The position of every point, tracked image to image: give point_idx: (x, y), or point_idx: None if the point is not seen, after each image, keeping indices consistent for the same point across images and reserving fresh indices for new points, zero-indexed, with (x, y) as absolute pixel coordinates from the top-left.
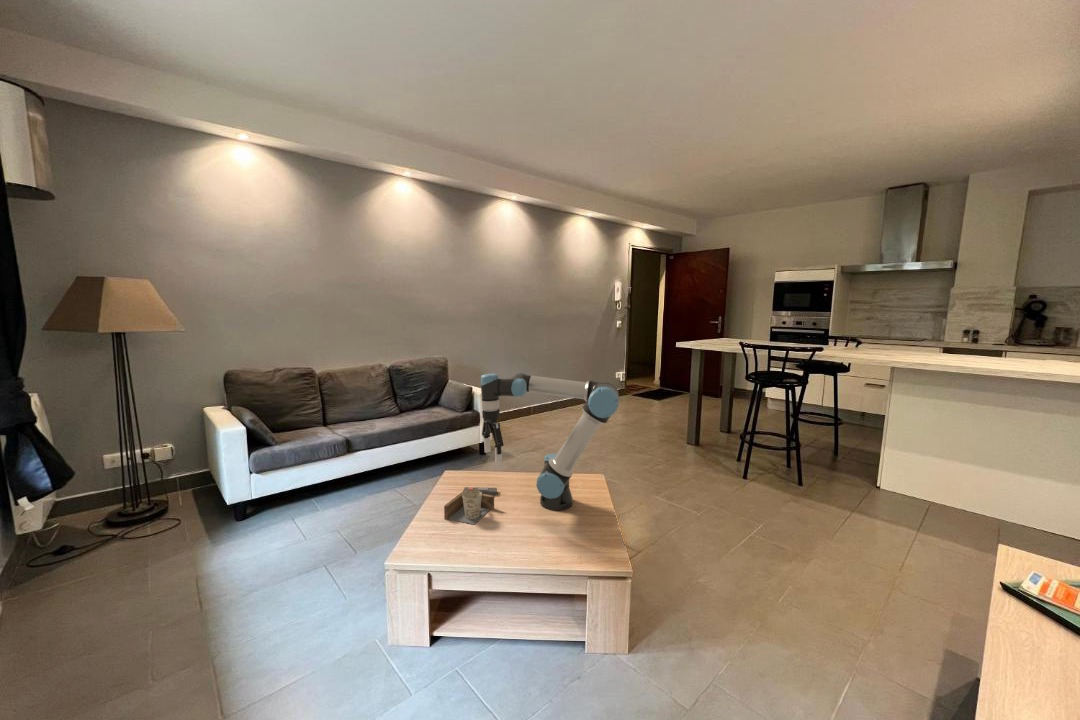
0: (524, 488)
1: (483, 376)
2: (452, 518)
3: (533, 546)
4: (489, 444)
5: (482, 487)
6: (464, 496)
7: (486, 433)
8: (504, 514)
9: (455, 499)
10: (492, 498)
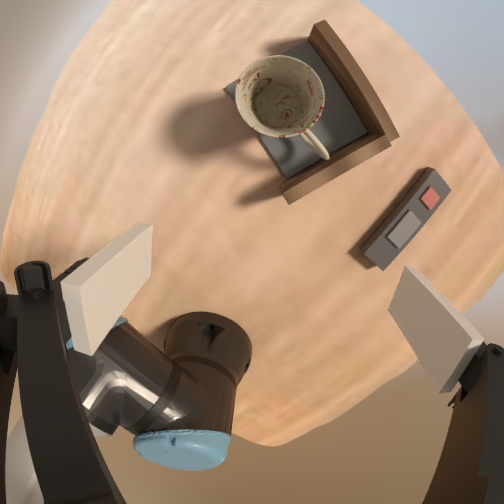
0: (336, 334)
1: None
2: (300, 50)
3: (62, 182)
4: (416, 340)
5: (412, 232)
6: (310, 78)
7: (478, 409)
8: (230, 199)
9: (350, 71)
10: (282, 192)
